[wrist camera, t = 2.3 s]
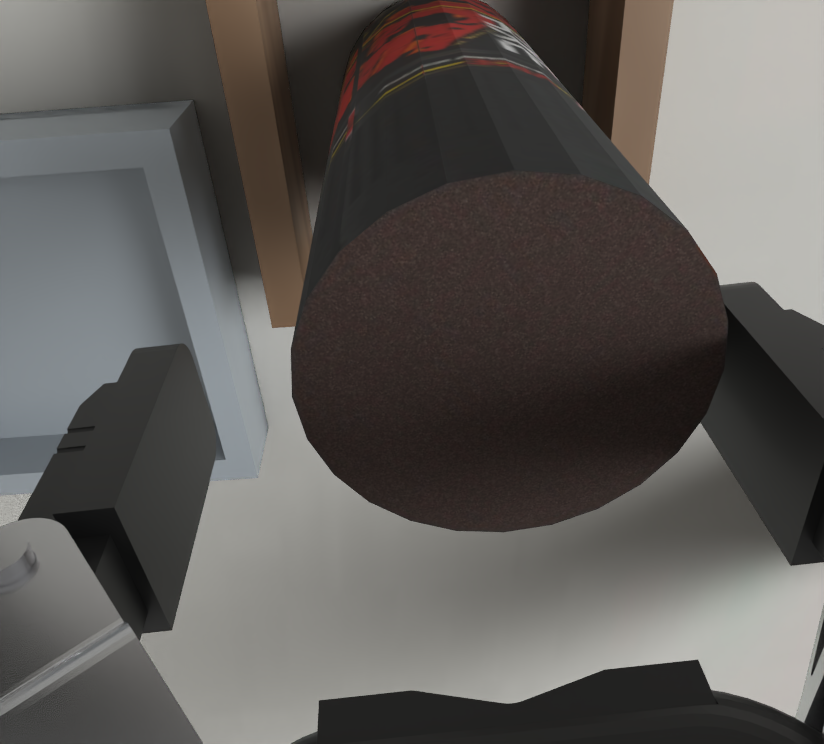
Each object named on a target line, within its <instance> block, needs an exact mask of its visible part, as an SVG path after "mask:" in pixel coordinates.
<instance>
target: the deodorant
mask: <svg viewBox="0 0 824 744" xmlns="http://www.w3.org/2000/svg"><path fill="white" fill-rule="evenodd" d="M727 331H728V318H727V314H726V310H725V306H724V302H723V298H722V293H721V289H720V285H719V281H718V277H717V273H716V272H715V270H714V269H713V267H712V266H711V264H710V263H709V261H708V260H707V259H706V257H705V256H704V254H703V253H702V251H701V250H700V248H699V247H698V245H697V244H696V242H695V241H694V239H693V238H692V236H691V235H690V233H689V232H688V230H687V229H686V228H685V227H684V226H683V224H682V223H681V222H680V221H679V220H678V219H677V217H676V216H675V215H674V214H673V213H672V212H671V210H670V209H669V208H668V207H667V206H666V205H665V203H664V202H663V201H662V200H661V199H660V198H659V196H658V195H657V194H656V193H655V192H654V191H653V189H652V188H651V187H650V186H649V185H648V184H647V182H646V181H645V180H644V179H643V178H642V177H641V175H640V174H639V173H638V172H637V171H636V170H635V168H634V167H633V166H632V165H631V164H630V163H629V161H628V160H627V159H626V158H625V157H624V156H623V154H622V153H621V152H620V151H619V150H618V149H617V147H616V146H615V145H614V144H613V143H612V142H611V140H610V139H609V138H608V137H607V136H606V135H605V134H604V132H603V131H602V130H601V129H600V128H599V127H598V125H597V124H596V123H595V122H594V121H593V120H592V118H591V117H590V116H589V115H588V114H587V113H586V111H585V110H584V109H583V108H582V107H581V106H580V104H579V103H578V102H577V101H576V100H575V99H574V97H573V96H572V95H571V94H570V93H569V92H568V90H567V89H566V88H565V87H564V86H563V85H562V83H561V82H560V81H559V80H558V79H557V78H556V76H555V75H554V74H553V73H552V72H551V71H550V69H549V68H548V67H547V66H546V65H545V64H544V62H543V61H542V60H541V59H540V58H539V57H538V55H537V54H536V53H535V52H534V51H533V50H532V48H531V47H530V46H529V45H528V44H527V43H526V41H525V40H524V39H523V38H522V37H521V36H520V35H519V33H518V32H517V31H516V30H515V29H514V28H513V26H512V25H511V24H510V23H509V22H508V21H507V20H506V19H505V18H504V17H503V16H501V15H500V14H499V13H498V12H496V11H495V10H494V9H493V8H491V7H490V6H489V5H488V4H486V3H484V2H481V1H479V0H402V1H400V2H398V3H397V4H395V5H393V6H391V7H389V8H387V9H386V10H384V11H383V12H382V13H381V14H380V15H379V16H378V17H377V18H376V19H375V20H374V21H373V22H372V23H371V24H370V25H369V26H368V27H366V28H365V29H364V31H363V33H362V34H361V36H360V38H359V39H358V41H357V43H356V45H355V46H354V48H353V50H352V51H351V53H350V57H349V60H348V64H347V67H346V71H345V74H344V78H343V82H342V88H341V93H340V98H339V103H338V108H337V113H336V119H335V124H334V129H333V134H332V139H331V145H330V150H329V155H328V160H327V165H326V170H325V176H324V181H323V186H322V191H321V196H320V202H319V207H318V212H317V217H316V222H315V227H314V233H313V238H312V243H311V248H310V253H309V259H308V264H307V269H306V274H305V279H304V284H303V290H302V295H301V300H300V305H299V310H298V315H297V321H296V326H295V331H294V336H293V341H292V347H291V371H292V398H293V401H294V403H295V406H296V409H297V412H298V415H299V417H300V420H301V423H302V426H303V428H304V431H305V434H306V437H307V439H308V441H309V442H310V443H311V445H312V446H313V447H314V449H315V450H316V451H317V453H318V454H319V455H320V457H321V458H322V459H323V461H324V462H325V463H326V465H327V466H328V467H329V469H330V470H331V471H332V472H333V474H334V475H335V476H337V477H338V478H339V479H340V480H342V481H343V482H344V483H346V484H347V485H348V486H349V487H351V488H352V489H353V490H355V491H356V492H357V493H358V494H360V495H361V496H362V497H363V498H365V499H366V500H367V501H369V502H370V503H373V504H375V505H377V506H379V507H381V508H384V509H386V510H388V511H390V512H392V513H395V514H397V515H399V516H401V517H403V518H406V519H408V520H410V521H414V522H419V523H423V524H428V525H432V526H437V527H441V528H446V529H450V530H455V531H484V532H507V531H514V530H520V529H527V528H533V527H540V526H546V525H552V524H555V523H558V522H561V521H564V520H567V519H570V518H572V517H575V516H578V515H581V514H584V513H587V512H590V511H593V510H596V509H598V508H600V507H602V506H604V505H605V504H607V503H609V502H611V501H612V500H614V499H616V498H618V497H619V496H621V495H623V494H625V493H626V492H628V491H630V490H632V489H634V488H635V487H637V486H639V485H641V484H642V483H643V482H644V481H645V480H646V479H648V478H649V477H650V476H651V475H652V474H653V473H654V472H656V471H657V470H658V469H659V468H660V467H661V466H663V465H664V464H665V463H666V462H667V461H668V460H670V459H671V458H672V457H673V456H674V455H675V454H677V453H678V451H679V450H680V449H681V447H682V446H683V445H684V443H685V442H686V441H687V439H688V438H689V437H690V435H691V434H692V433H693V431H694V430H695V429H696V427H697V426H698V424H699V423H700V422H701V420H702V419H703V418H704V416H705V415H706V414H707V411H708V409H709V406H710V404H711V401H712V399H713V396H714V394H715V391H716V389H717V386H718V384H719V381H720V379H721V376H722V374H723V371H724V367H725V355H726V343H727Z"/></svg>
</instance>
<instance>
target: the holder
mask: <svg viewBox="0 0 824 744" xmlns="http://www.w3.org/2000/svg"><path fill="white" fill-rule="evenodd" d="M205 1H206V6H207V10H208V15H209V20H210V25H211V30H212V35H213V40H214V45H215V50H216V55H217V59H218V64H219V69H220V74H221V79H222V84H223V89H224V94H225V99H226V104H227V108H228V113H229V118H230V123H231V128H232V133H233V138H234V143H235V148H236V152H237V157H238V162H239V167H240V172H241V177H242V182H243V187H244V192H245V197H246V201H247V206H248V211H249V216H250V221H251V226H252V231H253V236H254V241H255V245H256V250H257V255H258V260H259V265H260V270H261V275H262V280H263V285H264V290H265V294H266V299H267V304H268V309H269V314H270V319H271V324H272V328H278V327H293V326H296V321H297V315H298V310H299V305H300V300H301V295H302V290H303V284H304V279H305V274H306V269H307V264H308V259H309V253H310V248H311V243H312V238H313V236H312V229H311V223H310V216H309V210H308V203H307V196H306V190H305V183H304V177H303V170H302V164H301V157H300V151H299V144H298V137H297V131H296V124H295V118H294V111H293V105H292V98H291V92H290V85H289V78H288V72H287V65H286V59H285V52H284V46H283V39H282V33H281V26H280V19H279V13H278V6H277V0H205ZM673 2H674V0H590V3H589V17H588V30H587V43H586V57H585V70H584V83H583V97H582V108H583V109H584V110H585V111H586V113H587V114H588V115H589V116H590V117H591V118H592V120H593V121H594V122H595V123H596V124H597V125H598V127H599V128H600V129H601V130H602V131H603V132H604V134H605V135H606V136H607V137H608V138H609V139H610V140H611V142H612V143H613V144H614V145H615V146H616V147H617V149H618V150H619V151H620V152H621V153H622V154H623V156H624V157H625V158H626V159H627V160H628V161H629V163H630V164H631V165H632V166H633V167H634V168H635V170H636V171H637V172H638V173H639V174H640V175H641V177H642V178H643V179H644V180H645V181H646V182H647V184H648V185H649V179H650V172H651V164H652V157H653V150H654V142H655V135H656V127H657V120H658V113H659V105H660V98H661V91H662V83H663V76H664V68H665V61H666V54H667V46H668V39H669V32H670V24H671V17H672V9H673Z"/></svg>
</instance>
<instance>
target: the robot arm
mask: <svg viewBox="0 0 824 744" xmlns="http://www.w3.org/2000/svg"><path fill="white" fill-rule="evenodd" d="M720 289H721V293H722V298H723V302H724V306H725V310H726V314H727V318H728V331H727V343H726V355H725V367H724V371H723V374H722V376H721V379H720V381H719V384H718V386H717V389H716V391H715V394H714V396H713V399H712V401H711V404H710V406H709V409H708V411H707V414H706V415H705V416H704V418H703V419H702V420H701V424H702V425H703V427H704V428H705V430H706V432H707V433H708V435H709V436H710V438H711V440H712V441H713V443H714V444H715V446H716V448H717V449H718V451H719V452H720V454H721V456H722V457H723V459H724V460H725V462H726V463H727V465H728V467H729V468H730V470H731V471H732V473H733V475H734V476H735V478H736V479H737V481H738V483H739V484H740V486H741V487H742V489H743V491H744V492H745V494H746V495H747V497H748V498H749V500H750V502H751V503H752V505H753V506H754V508H755V510H756V511H757V513H758V514H759V516H760V518H761V519H762V521H763V522H764V524H765V526H766V527H767V529H768V530H769V532H770V533H771V535H772V537H773V538H774V540H775V541H776V543H777V545H778V546H779V548H780V549H781V551H782V553H783V554H784V556H785V557H786V559H787V561H788V562H789V564H790V565H791V566H792V565H801V564H810V563H819V562H824V325H822V324H820V323H818V322H816V321H814V320H812V319H810V318H808V317H806V316H804V315H802V314H800V313H798V312H796V311H794V310H792V309H790V310H783V309H782V308H781V307H780V306H779V305H778V304H777V303H776V302H775V301H774V300H773V299H772V298H771V297H770V296H769V295H768V293H767V292H766V291H765V290H764V289H763V288H762V287H761V286H760V285H758V284H757V283H755V282H746V283H737V284H728V285H720ZM67 431H68V433H67V434H64V436H63V437H62V439H61V441H60V443H59V445H58V447H57V453H56V454H53V456H52V458H51V460H50V462H49V463H48V465H47V467H46V469H45V471H44V473H43V475H42V476H41V478H40V480H39V482H38V484H37V486H36V488H35V489H34V491H33V493H32V495H31V497H30V499H29V501H28V502H27V504H26V506H25V508H24V510H23V512H22V514H21V515H20V517H19V519H18V521H15V522H12V523H9V524H6V525H3V526H1V527H0V744H203V742H202V741H201V739H200V738H199V736H198V734H197V733H196V731H195V730H194V728H193V726H192V725H191V723H190V722H189V720H188V718H187V717H186V715H185V714H184V712H183V710H182V709H181V707H180V706H179V704H178V702H177V701H176V699H175V697H174V696H173V694H172V693H171V691H170V689H169V688H168V686H167V685H166V683H165V681H164V680H163V678H162V677H161V675H160V673H159V672H158V670H157V669H156V667H155V665H154V664H153V662H152V661H151V659H150V657H149V656H148V654H147V653H146V651H145V649H144V648H143V646H142V645H141V643H140V638H141V635H142V633H150V632H160V631H169V630H172V628H173V624H174V620H175V616H176V612H177V608H178V604H179V600H180V596H181V592H182V588H183V584H184V580H185V576H186V572H187V568H188V565H189V561H190V557H191V553H192V549H193V545H194V541H195V537H196V533H197V529H198V525H199V521H200V517H201V513H202V509H203V505H204V501H205V497H206V494H207V490H208V486H209V482H210V478H211V474H212V470H213V466H214V462H215V457H216V433H215V427H214V422H213V419H212V415H211V412H210V409H209V406H208V403H207V400H206V397H205V394H204V391H203V388H202V385H201V382H200V378H199V375H198V372H197V369H196V366H195V363H194V360H193V357H192V354H191V352H190V350H189V348H188V347H187V346H186V345H185V344H183V343H181V344H172V345H162V346H153V347H144V348H136V349H134V350H133V351H132V353H131V354H130V356H129V358H128V361H127V363H126V365H125V367H124V369H123V371H122V373H121V375H120V377H119V379H118V381H117V382H114V383H105V384H103V385H102V386H101V387H100V388H99V389H97V390H96V391H95V392H94V393H93V394H92V395H91V396H90V397H89V398H87V399H86V400H85V401H84V402H83V403H82V404H81V405H80V406H79V408H78V410H77V411H76V413H75V415H74V417H73V419H72V421H71V423H70V424H69V426H68V428H67ZM291 744H824V605H823V609H822V614H821V618H820V622H819V626H818V630H817V634H816V638H815V642H814V647H813V651H812V655H811V659H810V663H809V667H808V671H807V676H806V680H805V684H804V688H803V692H802V696H801V699H800V703H799V706H798V710H797V713H796V716H795V718H794V717H792V716H790V715H788V714H786V713H783V712H781V711H779V710H777V709H775V708H773V707H770V706H767V705H765V704H762V703H759V702H756V701H754V700H751V699H748V698H744V697H741V696H737V695H733V694H729V693H725V692H719V691H713V690H711V689H710V686H709V684H708V682H707V679H706V677H705V675H704V673H703V670H702V668H701V666H700V663H699V661H698V660H691V661H682V662H673V663H663V664H654V665H645V666H635V667H626V668H617V669H608V670H603V671H600V672H598V673H595V674H592V675H590V676H587V677H585V678H582V679H579V680H577V681H574V682H572V683H569V684H566V685H564V686H561V687H558V688H556V689H553V690H551V691H548V692H545V693H543V694H540V695H538V696H535V697H532V698H530V699H527V700H524V701H522V702H518V703H512V704H504V703H496V702H489V701H482V700H475V699H468V698H461V697H454V696H447V695H440V694H433V693H426V692H419V691H403V692H394V693H385V694H376V695H366V696H357V697H348V698H338V699H329V700H320V701H319V713H318V731H317V732H315V733H312V734H310V735H307V736H305V737H303V738H301V739H299V740H297V741H295V742H293V743H291Z"/></svg>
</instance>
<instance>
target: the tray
mask: <svg viewBox="0 0 824 744" xmlns="http://www.w3.org/2000/svg"><path fill="white" fill-rule="evenodd" d="M181 343H183V344H185V345H186V346H187V347H188V348H189V350H190V352H191V354H192V357H193V360H194V363H195V366H196V369H197V372H198V375H199V378H200V382H201V385H202V388H203V391H204V394H205V397H206V400H207V403H208V406H209V409H210V412H211V415H212V419H213V422H214V427H215V433H216V457H215V462H214V466H213V470H212V474H211V478H210V481H218V480H232V479H247V478H258V475H259V470H260V465H261V460H262V455H263V451H264V446H265V441H266V436H267V431H268V423H267V419H266V415H265V410H264V406H263V402H262V397H261V393H260V389H259V384H258V380H257V375H256V371H255V367H254V362H253V358H252V354H251V349H250V345H249V341H248V336H247V332H246V328H245V323H244V319H243V315H242V310H241V306H240V301H239V297H238V293H237V288H236V284H235V280H234V275H233V271H232V267H231V262H230V258H229V254H228V249H227V245H226V241H225V236H224V232H223V227H222V223H221V219H220V214H219V210H218V206H217V201H216V197H215V193H214V188H213V184H212V180H211V175H210V171H209V167H208V162H207V158H206V153H205V149H204V145H203V140H202V136H201V132H200V127H199V123H198V119H197V114H196V110H195V106H194V101H193V100H187V101H173V102H159V103H145V104H132V105H118V106H104V107H90V108H76V109H62V110H48V111H35V112H21V113H7V114H0V495H12V494H27V493H33V491H34V489H35V488H36V486H37V484H38V482H39V480H40V478H41V476H42V475H43V473H44V471H45V469H46V467H47V465H48V463H49V462H50V460H51V458H52V456H53V454H56V453H57V447H58V445H59V443H60V441H61V439H62V437H63V436H64V434H67V433H68V431H67V428H68V426H69V424H70V423H71V421H72V419H73V417H74V415H75V413H76V411H77V410H78V408H79V406H80V405H81V404H82V403H83V402H84V401H85V400H86V399H87V398H89V397H90V396H91V395H92V394H93V393H94V392H95V391H96V390H97V389H99V388H100V387H101V386H102V385H103V384H105V383H114V382H117V381H118V379H119V377H120V375H121V373H122V371H123V369H124V367H125V365H126V363H127V361H128V358H129V356H130V354H131V353H132V351H133V350H134V349H136V348H144V347H153V346H162V345H172V344H181Z"/></svg>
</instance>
